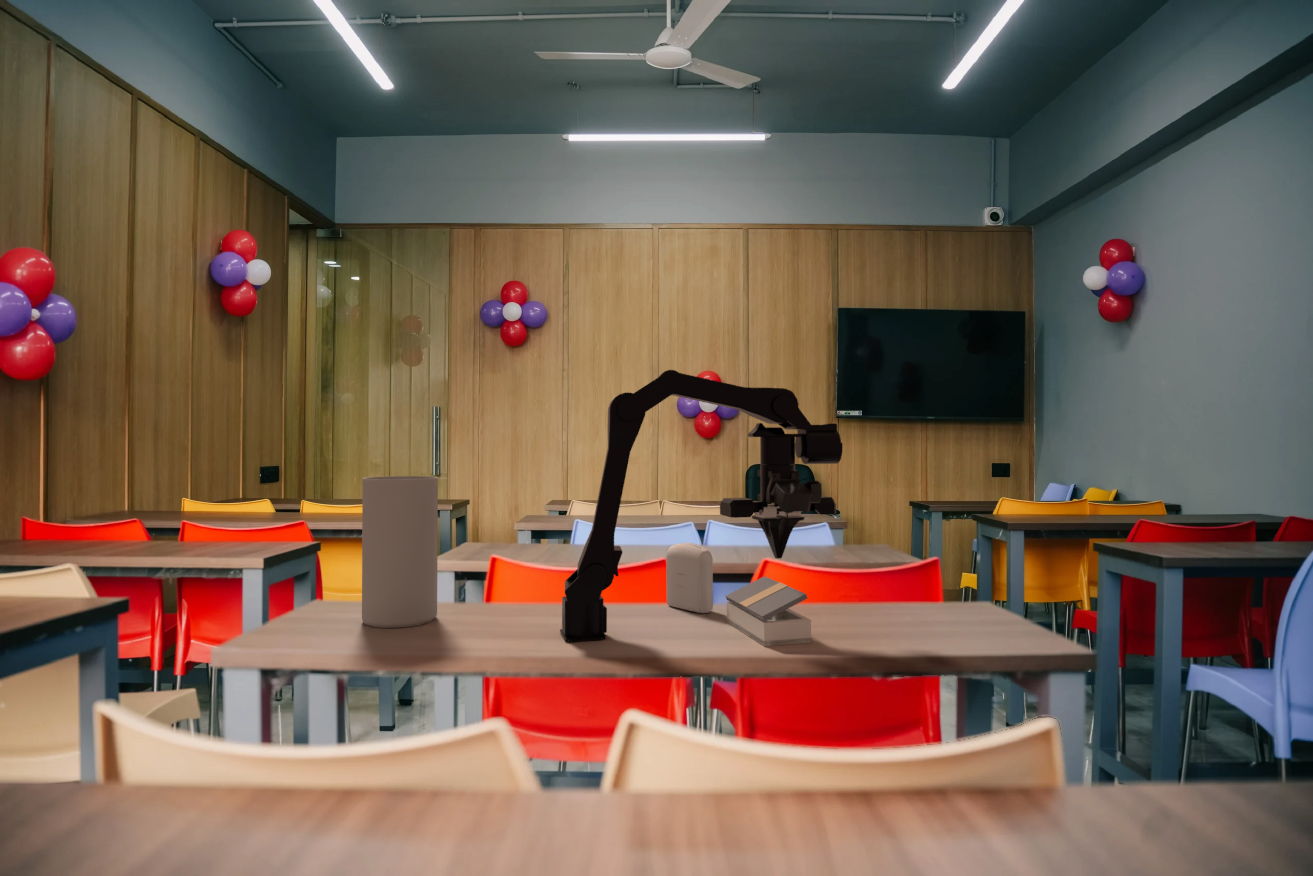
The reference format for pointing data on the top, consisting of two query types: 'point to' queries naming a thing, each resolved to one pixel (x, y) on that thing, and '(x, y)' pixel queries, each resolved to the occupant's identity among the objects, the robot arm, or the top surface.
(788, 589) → the flap lid
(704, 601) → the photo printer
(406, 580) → the cylinder vase
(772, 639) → the storage box
